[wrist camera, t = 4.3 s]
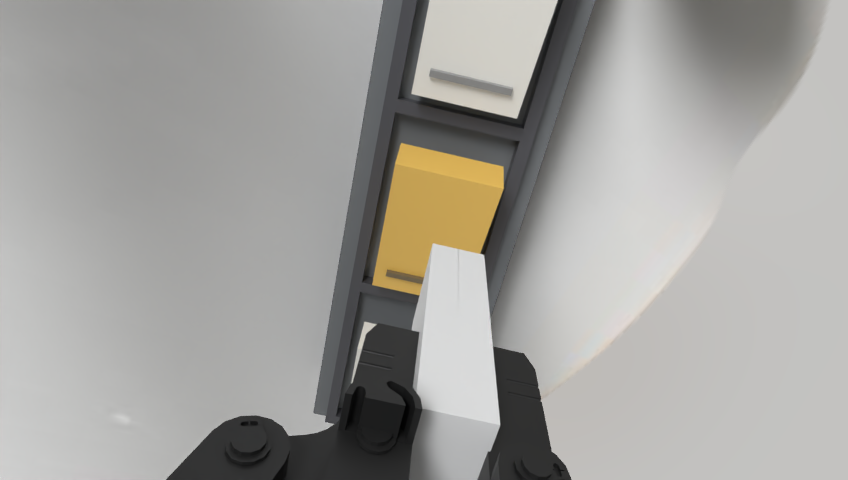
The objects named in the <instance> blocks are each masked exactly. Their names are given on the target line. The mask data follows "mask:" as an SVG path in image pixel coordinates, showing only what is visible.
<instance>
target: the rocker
mask: <svg viewBox="0 0 848 480" xmlns="http://www.w3.org/2000/svg"><path fill="white" fill-rule="evenodd" d="M557 1H558V0H429V5H428V10H427V16H426V21H425V26H424V31H423V36H422V41H421V47H420V52H419V57H418V62H417V67H416V72H415V78H414V83H413V88H412V93H411V94H414V95H418V96H422V97H427V98H431V99H435V100H439V101H444V102H448V103H452V104H456V105H461V106H465V107H469V108H473V109H478V110H482V111H486V112H490V113H495V114H499V115H503V116H507V117H512V118H516V119H517V117H518V114H519V111H520V108H521V105H522V102H523V100H524V97H525V94H526V91H527V88H528V85H529V82H530V79H531V76H532V74H533V71H534V68H535V65H536V62H537V59H538V56H539V53H540V50H541V48H542V45H543V42H544V39H545V36H546V33H547V30H548V27H549V24H550V22H551V19H552V16H553V13H554V10H555V7H556V4H557Z"/></svg>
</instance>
